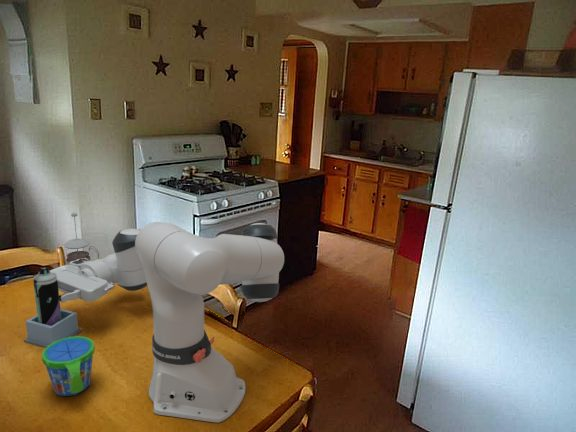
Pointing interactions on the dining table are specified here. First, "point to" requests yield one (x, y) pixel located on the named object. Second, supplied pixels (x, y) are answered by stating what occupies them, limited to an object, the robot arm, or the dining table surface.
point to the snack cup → (69, 364)
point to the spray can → (47, 297)
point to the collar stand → (52, 329)
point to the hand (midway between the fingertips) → (49, 294)
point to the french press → (77, 245)
